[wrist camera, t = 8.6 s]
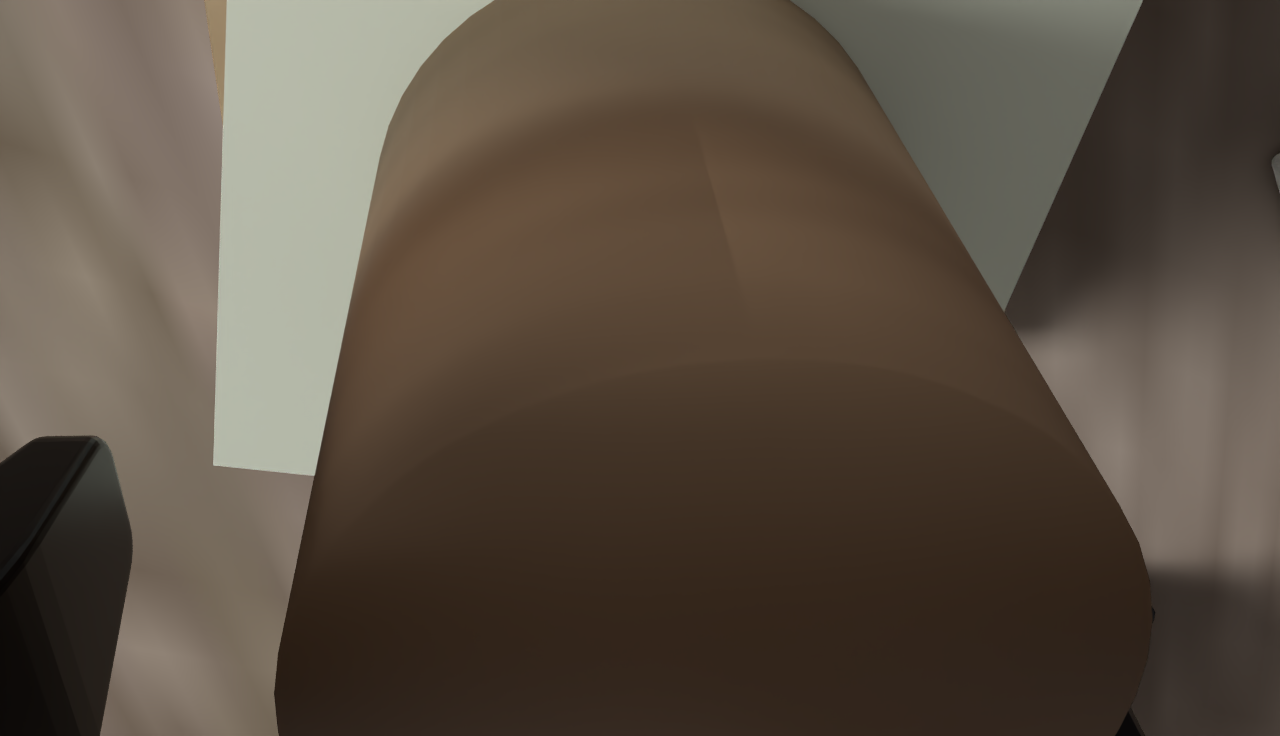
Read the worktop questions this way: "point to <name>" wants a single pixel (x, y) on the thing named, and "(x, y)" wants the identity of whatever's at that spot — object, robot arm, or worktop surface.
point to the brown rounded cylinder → (688, 417)
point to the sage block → (439, 3)
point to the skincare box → (1276, 169)
